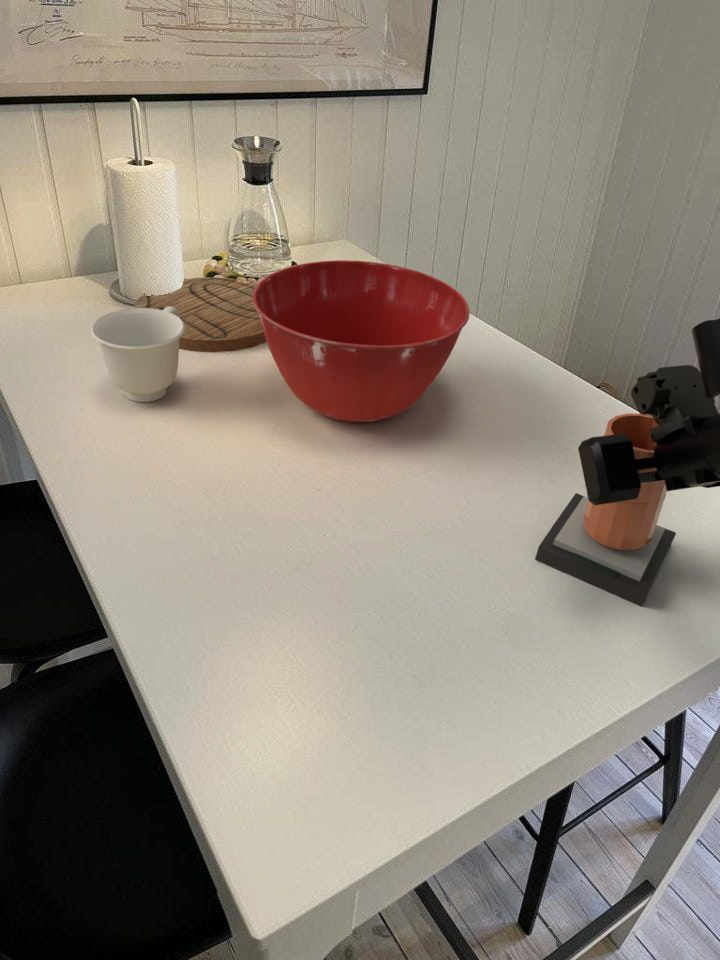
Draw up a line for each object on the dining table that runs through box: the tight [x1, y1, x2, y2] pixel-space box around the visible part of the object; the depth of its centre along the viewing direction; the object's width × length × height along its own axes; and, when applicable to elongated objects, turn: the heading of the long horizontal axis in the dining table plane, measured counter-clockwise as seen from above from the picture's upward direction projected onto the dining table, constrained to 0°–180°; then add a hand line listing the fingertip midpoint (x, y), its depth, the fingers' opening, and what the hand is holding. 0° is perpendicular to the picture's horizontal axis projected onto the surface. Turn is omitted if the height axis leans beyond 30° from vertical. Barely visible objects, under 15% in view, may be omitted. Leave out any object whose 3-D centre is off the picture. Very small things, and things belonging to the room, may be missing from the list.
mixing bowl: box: [253, 259, 470, 424], centre depth 104 cm, size 28×28×15 cm
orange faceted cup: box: [583, 413, 668, 550], centre depth 79 cm, size 7×7×13 cm
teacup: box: [90, 307, 185, 403], centre depth 104 cm, size 12×15×10 cm
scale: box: [534, 492, 677, 608], centre depth 84 cm, size 12×12×3 cm
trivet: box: [134, 276, 267, 353], centre depth 126 cm, size 25×25×2 cm
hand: (622, 474), depth 80 cm, fingers closed on orange faceted cup, 7 cm apart
